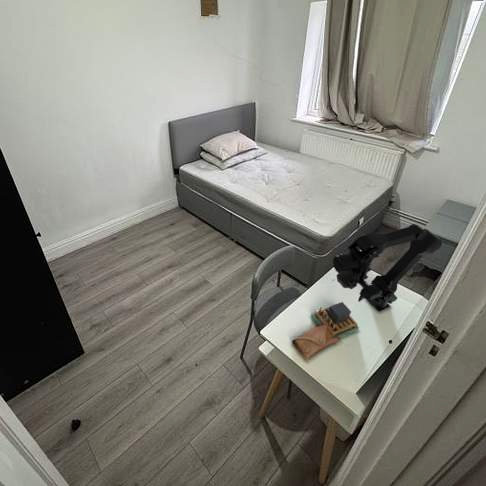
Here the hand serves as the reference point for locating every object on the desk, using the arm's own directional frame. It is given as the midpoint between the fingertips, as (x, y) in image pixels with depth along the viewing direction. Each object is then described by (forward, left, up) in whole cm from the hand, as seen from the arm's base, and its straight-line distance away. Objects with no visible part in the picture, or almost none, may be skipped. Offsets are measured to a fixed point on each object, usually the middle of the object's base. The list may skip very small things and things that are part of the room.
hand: (350, 292), depth 115 cm
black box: (+8, +4, -8) cm, 11 cm away
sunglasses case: (+20, +8, -12) cm, 24 cm away
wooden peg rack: (+8, +4, -12) cm, 15 cm away
